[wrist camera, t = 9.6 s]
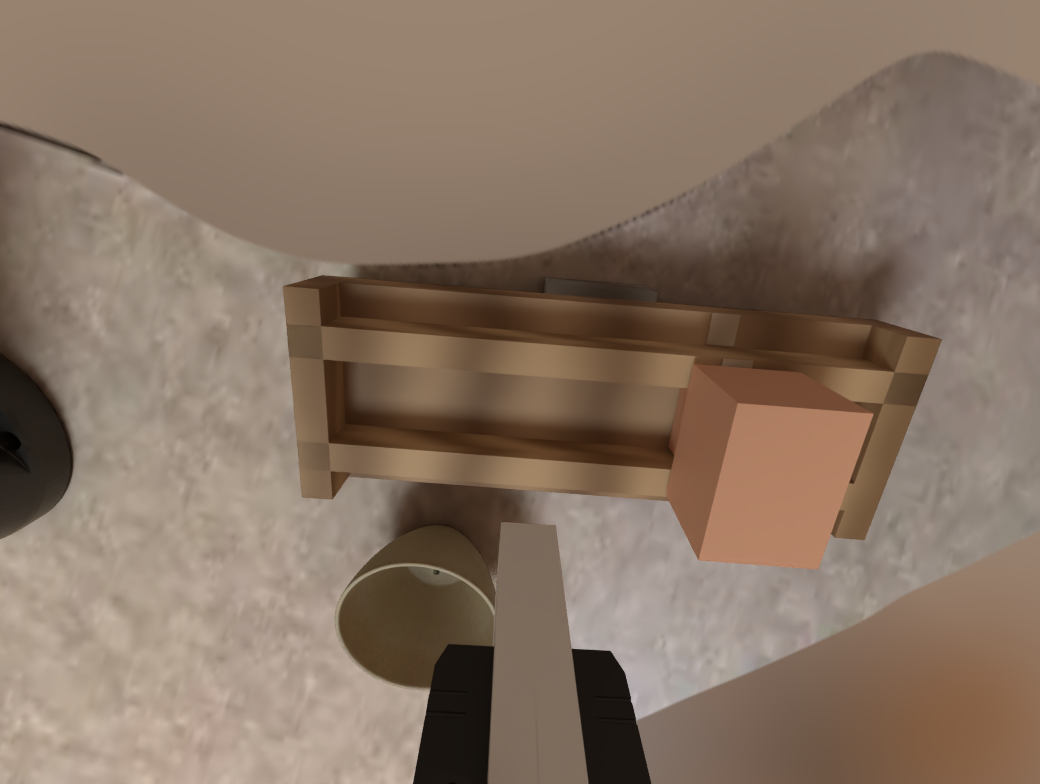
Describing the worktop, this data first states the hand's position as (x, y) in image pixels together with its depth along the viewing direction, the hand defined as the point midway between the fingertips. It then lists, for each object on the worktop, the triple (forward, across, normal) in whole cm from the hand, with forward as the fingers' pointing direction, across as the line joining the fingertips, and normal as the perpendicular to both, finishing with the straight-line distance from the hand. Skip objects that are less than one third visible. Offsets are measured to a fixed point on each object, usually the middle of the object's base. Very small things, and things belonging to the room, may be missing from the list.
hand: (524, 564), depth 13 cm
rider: (+13, +10, 0) cm, 16 cm away
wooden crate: (+18, +4, 0) cm, 18 cm away
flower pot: (+19, -5, -15) cm, 24 cm away
